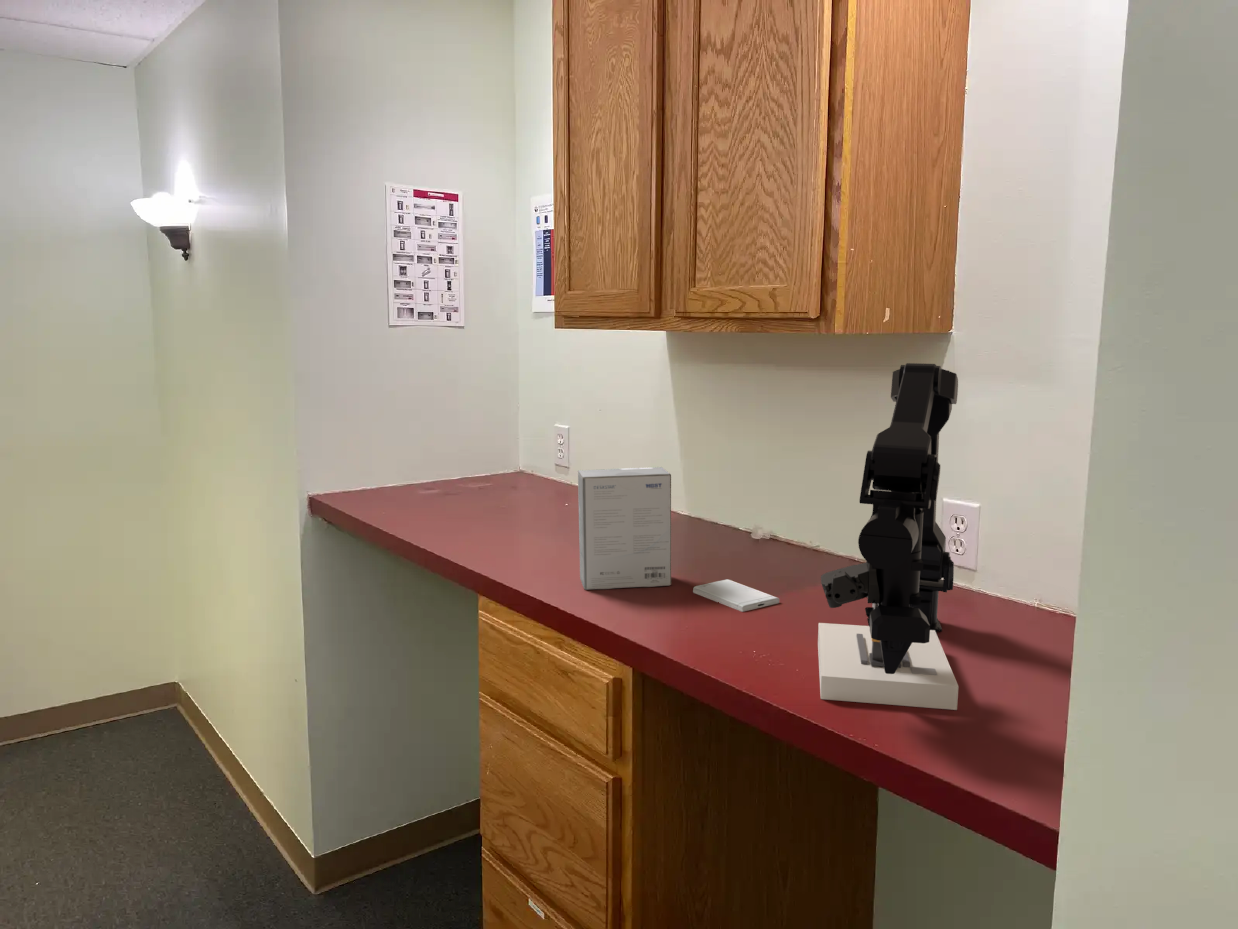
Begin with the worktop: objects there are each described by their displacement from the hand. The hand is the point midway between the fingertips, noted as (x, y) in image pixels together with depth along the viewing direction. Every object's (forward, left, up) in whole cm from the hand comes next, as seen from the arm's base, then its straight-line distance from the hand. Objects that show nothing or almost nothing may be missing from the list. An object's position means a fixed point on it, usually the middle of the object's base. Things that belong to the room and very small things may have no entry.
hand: (889, 672), depth 111 cm
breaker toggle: (-6, 0, -1) cm, 6 cm away
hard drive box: (-44, -41, -4) cm, 60 cm away
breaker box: (-10, 0, -4) cm, 11 cm away
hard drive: (-39, -21, -5) cm, 45 cm away
